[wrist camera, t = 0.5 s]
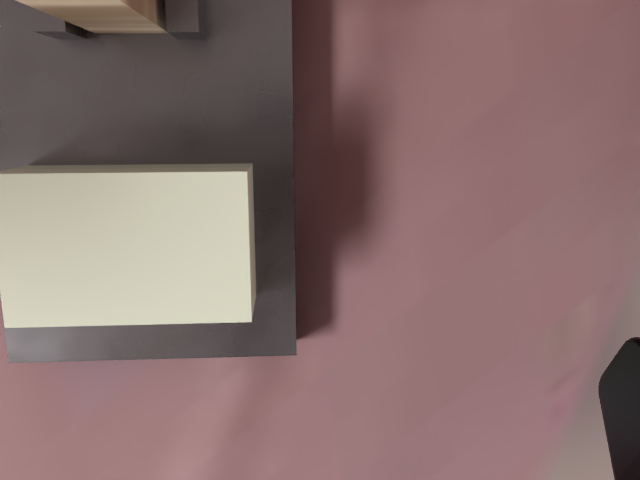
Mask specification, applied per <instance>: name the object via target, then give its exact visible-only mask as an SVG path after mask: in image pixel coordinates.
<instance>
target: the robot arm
mask: <svg viewBox="0 0 640 480" xmlns="http://www.w3.org/2000/svg"><path fill="white" fill-rule="evenodd" d="M599 398H600V404H601V409H602V414H603V420H604V425H605V430H606V436H607V441H608V446H609V452H610V457H611V462H612V468H613V473H614V477H615V480H640V338H639V337H634V338H631V339H629V340H627V341H626V342H625V343H624V344H623V346H622V347H621V349H620V350H619V351H618V353H617V354H616V356H615V357H614V359H613V360H612V361H611V363H610V364H609V366H608V367H607V369H606V370H605V371H604V373H603V374H602V376H601V379H600V382H599Z"/></svg>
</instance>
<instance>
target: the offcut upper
mask: <svg viewBox="0 0 640 480" xmlns="http://www.w3.org/2000/svg"><path fill="white" fill-rule="evenodd" d="M0 295H1V303H2V311H3V319H4V327H5V328H26V327H68V326H111V325H153V324H196V323H238V322H252V318H253V312H254V286H253V251H252V217H251V183H250V167H215V168H109V169H8V170H3V171H0Z"/></svg>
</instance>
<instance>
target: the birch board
mask: <svg viewBox="0 0 640 480" xmlns="http://www.w3.org/2000/svg"><path fill="white" fill-rule="evenodd" d="M16 1H18V2H20V3H23V4H25V5H28V6H30V7H33V8H35V9H37V10H40V11H42V12H45V13H47V14H50V15H52V16H54V17H57V18H59V19H62V20H64V21H67V22H69V23H71V24H74V25H76V26H79V27H81V28H84V29H86V30H88V31H91V32H93V33H168V32H167V29H166V12H165V0H16Z"/></svg>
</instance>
